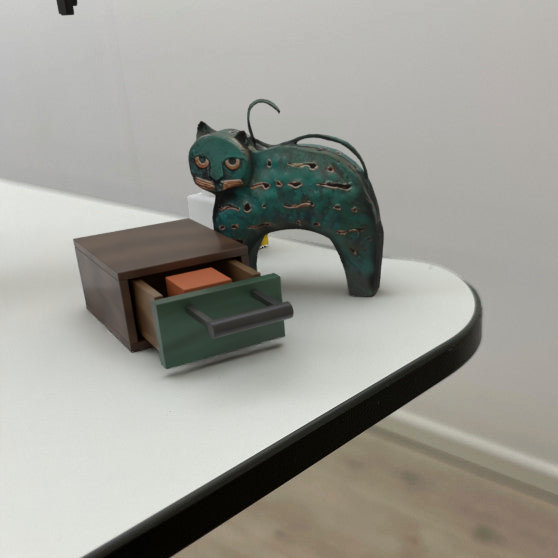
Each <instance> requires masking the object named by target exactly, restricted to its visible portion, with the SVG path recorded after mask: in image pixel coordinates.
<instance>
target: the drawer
mask: <svg viewBox="0 0 558 558" xmlns="http://www.w3.org/2000/svg"><path fill="white" fill-rule="evenodd" d="M210 267H211V268H213V269H215V270H217V271H218V272H220V273H222V274H224V275H225V276H227V277H229V278H230V279H232V283H228V284H224V285H219V286H215V287H211V288H206V289H202V290H198V291H193V292H189V293H184V294H180V295H176V296H171V297H168V292H167V285H166V279H165V278H166V277H169V276H173V275H178V274H183V273H187V272H192V271H196V270H201V269H206V268H210ZM128 285H129V291H130V297H131V303H132V309H133V314H134V320H135V326H136V331H138V332H139V333H140V334H141V335H142V336H143V337H144V338H145V339H146V340H148V341H149V342H150V343H151V344H152V345H153V346H154V348H155V349H156V350H158V353H159V359H160V365H161V366H162V367H163V368H164V369H165V370H169V369H173V368H177V367H181V366H184V365H188V364H191V363H194V362H198V361H202V360H205V359H209V358H212V357H216V356H219V355H220V356H221V355H224V354H227V353H230V352H234V351H239V350H241V349H246V348H249V347H252V346H255V345H259V344H263V343H267V342H270V341H273V340H278V339H281V338H285V337H286V327H285V320H289V319H292V318H293V317H294V315H295V311H294V306H293V304H292V303H291V302H290V301H288V300H287V301H283V292H282V291H283V290H282V280H281V276H280V274H277V273H275V272H272V273H268V274H263V275H262V274H261V272H260V271H258V270H257V271H256V270H254V269H252V268H250V267H248V266H246V265H244V264H243V263H241V262H239V261H237V260H235V259H233V258H228V259H223V260H218V261H213V262H209V263H204V264H199V265H195V266H190V267H185V268H180V269H176V270H171V271H166V272H162V273H157V274H152V275H147V276H143V277H138V278H133V279H128Z"/></svg>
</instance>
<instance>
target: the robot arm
mask: <svg viewBox="0 0 558 558" xmlns="http://www.w3.org/2000/svg"><path fill="white" fill-rule="evenodd" d="M55 1H56V5H57V12H58V14H59V15H61V16H62V17H63V16H74V15H75V8H74V7H77V6H78V0H55Z"/></svg>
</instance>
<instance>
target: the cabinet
mask: <svg viewBox="0 0 558 558" xmlns="http://www.w3.org/2000/svg"><path fill="white" fill-rule="evenodd" d="M72 242H73V246H74V252H75V257H76V261H77V267H78V272H79V277H80V282H81V286H82V287H81V288H82V292H83V297H84V301H85V308H86V309H87V310H88V311H89V312H90V314H92V315H93V316H94V317H95V318H96V319H97V320H98V321H99V322H100V323H101V324H102V325H103V326H104V327H105V328H106V329H107V330H108V331H109V332H110V333H111V334H112V335H113V336H114V337H115V338H116V339H117V340H118V341H119V342H120V343H121V344H122V345H123V346H124V347H125V348H127V350H128V351H130V352H131V353H135V352H139V351H143V350H145V349H149V348H153V347H154V346H153V345H152V344H151V343H150V342H149V341H148V340H146V339H145V338H144V337H143V336H142V335H141V334H140V333H139V332H138V331H136V326H135V320H134V314H133V309H132V303H131V297H130V291H129V285H128V279H133V278H138V277H143V276H147V275H152V274H157V273H162V272H166V271H171V270H176V269H180V268H185V267H190V266H195V265H199V264H204V263H209V262H213V261H218V260H223V259H228V258H233V259H235V260H237V261H239V262H241V263H243V264H244V265H246V266H248V267H250V266H249V256H248V247H247V246H245V245H243V244H241V243H239V242H237V241H235V240H233V239H231V238H229V237H227V236H225V235H223V234H221V233H219V232H217V231H214V230H212V229H210V228H208V227H206V226H204V225H202V224H200V223H198V222H196V221H194V220H192V219H190V217H186V218H181V219H176V220H171V221H164V222H159V223H153V224H149V225H142V226H136V227H131V228H125V229H119V230H114V231H108V232H102V233H98V234H92V235H87V236H82V237H81V236H80V237H75V238H72ZM154 348H155V347H154Z"/></svg>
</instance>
